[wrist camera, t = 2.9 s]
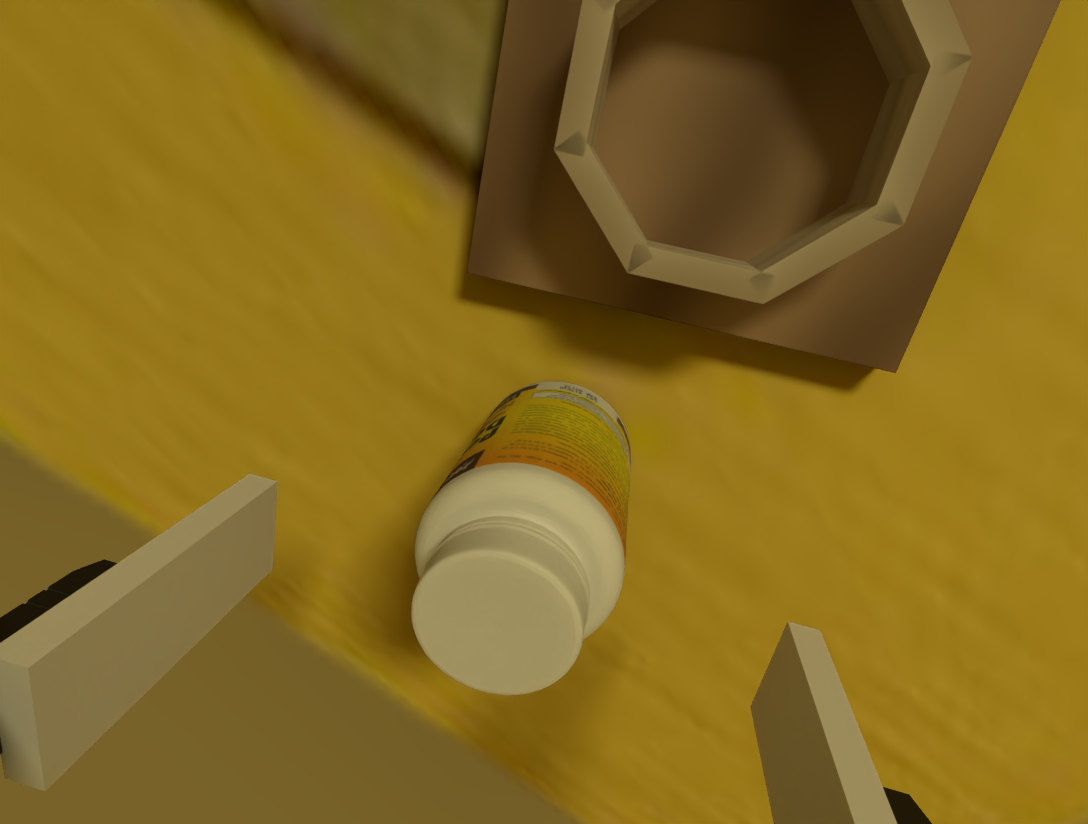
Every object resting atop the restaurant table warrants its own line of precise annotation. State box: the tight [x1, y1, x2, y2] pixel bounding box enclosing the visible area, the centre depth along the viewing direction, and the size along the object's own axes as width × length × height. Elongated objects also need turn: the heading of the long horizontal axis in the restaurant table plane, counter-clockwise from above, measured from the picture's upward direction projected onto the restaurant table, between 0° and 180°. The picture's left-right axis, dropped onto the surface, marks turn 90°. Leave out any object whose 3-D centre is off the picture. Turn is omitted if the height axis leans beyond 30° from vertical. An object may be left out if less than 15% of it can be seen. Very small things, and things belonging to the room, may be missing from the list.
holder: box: [467, 0, 1061, 373], centre depth 16 cm, size 14×12×4 cm
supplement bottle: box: [411, 381, 631, 695], centre depth 18 cm, size 6×6×10 cm
